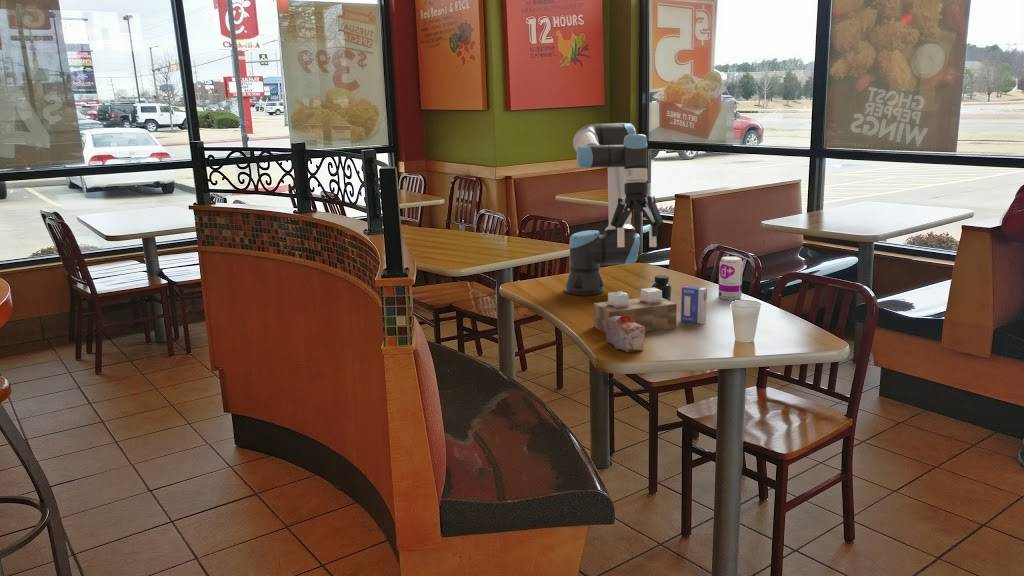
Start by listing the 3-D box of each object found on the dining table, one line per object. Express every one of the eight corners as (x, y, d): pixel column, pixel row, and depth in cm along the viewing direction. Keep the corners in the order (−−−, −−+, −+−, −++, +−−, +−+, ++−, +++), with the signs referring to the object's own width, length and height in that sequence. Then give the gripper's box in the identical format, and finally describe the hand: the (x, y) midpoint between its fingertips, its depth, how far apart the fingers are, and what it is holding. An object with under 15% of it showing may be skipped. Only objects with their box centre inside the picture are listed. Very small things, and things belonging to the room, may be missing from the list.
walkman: (680, 321, 276) (681, 286, 273) (683, 319, 278) (684, 284, 275) (703, 324, 271) (704, 289, 268) (706, 322, 273) (707, 287, 271)
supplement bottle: (670, 312, 286) (671, 278, 284) (650, 311, 288) (651, 278, 285) (670, 307, 293) (671, 274, 290) (651, 306, 294) (652, 274, 292)
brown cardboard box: (593, 326, 271) (593, 303, 269) (657, 318, 279) (658, 295, 277) (609, 336, 260) (610, 311, 258) (676, 327, 268) (676, 303, 266)
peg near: (607, 313, 268) (608, 292, 266) (621, 311, 270) (621, 291, 268) (614, 317, 263) (615, 296, 262) (628, 315, 265) (629, 294, 263)
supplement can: (732, 301, 299) (734, 261, 296) (713, 297, 305) (715, 258, 302) (745, 297, 304) (747, 258, 301) (726, 293, 310) (728, 255, 307)
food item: (648, 351, 245) (649, 319, 242) (626, 355, 241) (626, 323, 239) (623, 339, 257) (623, 309, 254) (601, 343, 253) (601, 312, 251)
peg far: (640, 309, 272) (640, 289, 270) (653, 307, 273) (654, 287, 272) (648, 313, 267) (648, 292, 266) (661, 311, 269) (661, 290, 267)
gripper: (599, 184, 276) (600, 247, 277) (658, 179, 257) (659, 247, 258) (614, 185, 281) (615, 247, 282) (673, 180, 262) (674, 246, 263)
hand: (636, 247), depth 270 cm, fingers open, 13 cm apart
